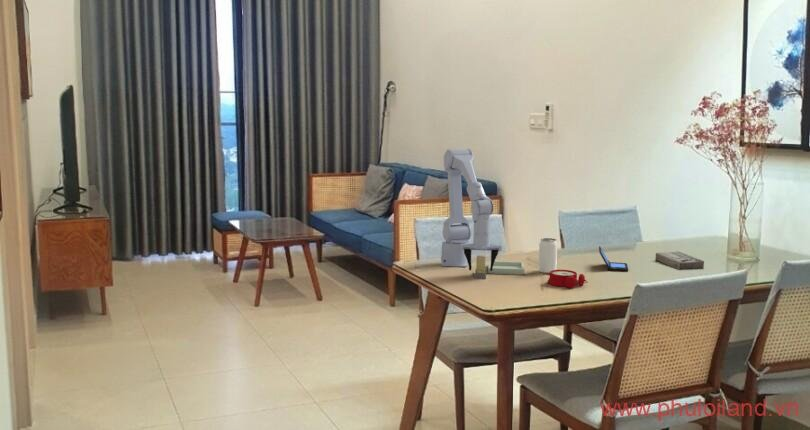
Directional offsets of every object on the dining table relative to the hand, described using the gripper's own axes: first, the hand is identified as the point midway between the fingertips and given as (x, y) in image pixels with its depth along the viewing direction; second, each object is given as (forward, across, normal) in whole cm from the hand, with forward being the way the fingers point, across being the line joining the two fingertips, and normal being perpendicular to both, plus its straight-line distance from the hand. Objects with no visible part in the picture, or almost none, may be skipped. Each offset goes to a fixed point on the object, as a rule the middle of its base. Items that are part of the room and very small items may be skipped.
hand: (480, 270), depth 279 cm
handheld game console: (+2, +49, +22) cm, 53 cm away
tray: (+2, +9, +10) cm, 14 cm away
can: (+2, +24, +11) cm, 26 cm away
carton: (+2, 0, 0) cm, 2 cm away
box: (+3, +75, +33) cm, 82 cm away
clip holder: (+2, 0, 0) cm, 2 cm away
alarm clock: (+2, +30, -8) cm, 31 cm away
